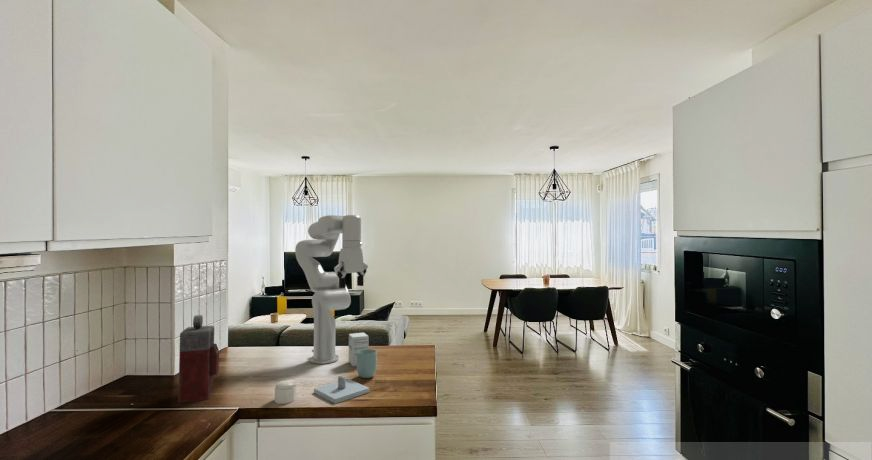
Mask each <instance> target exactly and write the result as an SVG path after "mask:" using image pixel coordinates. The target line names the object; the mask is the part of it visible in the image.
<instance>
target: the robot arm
mask: <svg viewBox="0 0 872 460" xmlns="http://www.w3.org/2000/svg"><path fill="white" fill-rule="evenodd" d="M307 232H308V235H309V237H310V238H312V239H305V240H300V241H298V242H297V243H296V244H295V248H294V249H295V250H294V251H295V258H296V261H297V262H298V265H299V266H300V267H301V269H302V271H303V273H304V275H305V278H306V280H307V284H308V286H309V288H310V290H311V291H312V292H313V293H314V294H313V295H312V297H311V305H312V311H313V349H311V352H312V354H313V355H312V356H311V357H310V358H309V362H310V363H312V364H317V365H322V364H323V365H325V364H331V363H335V362H337V361H338V360H339V357H340V356H339V355H338V354H336V327H337V325H336V324H337V323H336V318H335V316H334V315H333V314H332V313H331V312H333V311H340V310H346V309H347V308H349V307H350V305H351V303H352V300H351V299H352V298H351V293H350V292H349V289H348V287H347V284H346V275H347V274H351V273H356V274H357V276H356V286H358V287H364V282H365V280H364V278H365V275H366V273H367V269H368V268H369V266H368V264H366V263H365V262H364V254H363V253H364V252H363V248H362V245H363V243H362V218H361V216H360V215H357V214H346V215H333V214H332V215H331V214H329V215H324V216H320V217H319V218H318V220H317V221H316V222H313V223H311V224H310V225H309V226H308V230H307ZM340 234H342V238H341V240H342V243H341V244H342V245H341V246H342V247H341V248H340V250H339V256H338V264H337V265H336V266H334V267H333V269H334V271H325V270H324V268H323V266H322V265H321V263H320V262H319V261H318V260H316V259H315V258H319V257H320V258H322V257H323V258H326V257H330V256H331V255H332V254H333V252H334V249H335V247H336V246H337V243H338V240H339V237H340Z"/></svg>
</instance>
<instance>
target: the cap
mask: <svg viewBox="0 0 872 460" xmlns="http://www.w3.org/2000/svg"><path fill="white" fill-rule="evenodd" d="M296 382H297V381H295V380H292V379H288V380H281V381H278V382H277V383H275V387H274V402H275V403H276V404H278V405H279V404H280V405H281V404H285V405H286V404H290V403H293V402H295V401H296V399H297V384H296Z"/></svg>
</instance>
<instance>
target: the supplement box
mask: <svg viewBox="0 0 872 460" xmlns="http://www.w3.org/2000/svg"><path fill="white" fill-rule="evenodd" d="M369 337H370V336H369V335H368V334H366V333H365V332H354V333H349V334H348V363H350V365H351V366H352V367H357V351H359V350H363V349H369V345H370V344H369V340H370V339H369Z"/></svg>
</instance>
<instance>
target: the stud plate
mask: <svg viewBox="0 0 872 460" xmlns="http://www.w3.org/2000/svg"><path fill="white" fill-rule="evenodd" d="M313 393H314V394H316V395H318V396H319V397H322V398H324V399H326V400H327V401H329V402H331V403H333V404H338V403H341V402H344V401H347V400H350V399H354V398H357V397H359V396H362V395H364V394H369V393H370V387H369V386H366V385H364V384H361V383H359V382H357V381H354V380H352V379H350V378H347V377H346V375H339V376H338V377H337V381H334V382H331V383H328V384H324V385H321V386H316V387H314V388H313Z"/></svg>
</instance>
